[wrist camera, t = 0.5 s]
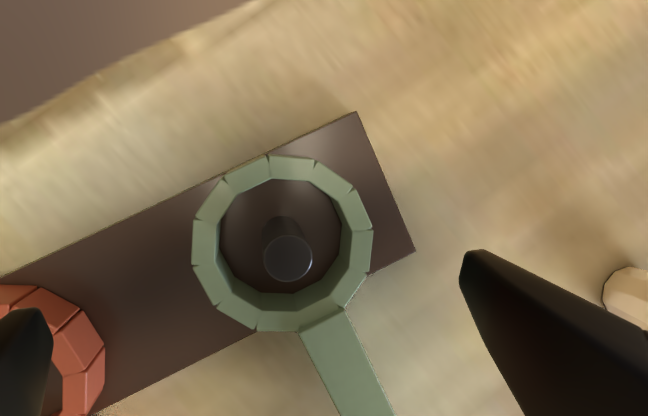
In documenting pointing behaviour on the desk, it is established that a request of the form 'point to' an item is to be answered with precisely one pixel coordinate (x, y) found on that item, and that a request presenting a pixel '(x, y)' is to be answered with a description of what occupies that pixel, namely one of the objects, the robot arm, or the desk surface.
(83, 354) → the rust loop
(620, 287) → the milkshake
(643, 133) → the desk surface
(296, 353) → the desk surface
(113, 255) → the rack
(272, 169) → the sage loop
